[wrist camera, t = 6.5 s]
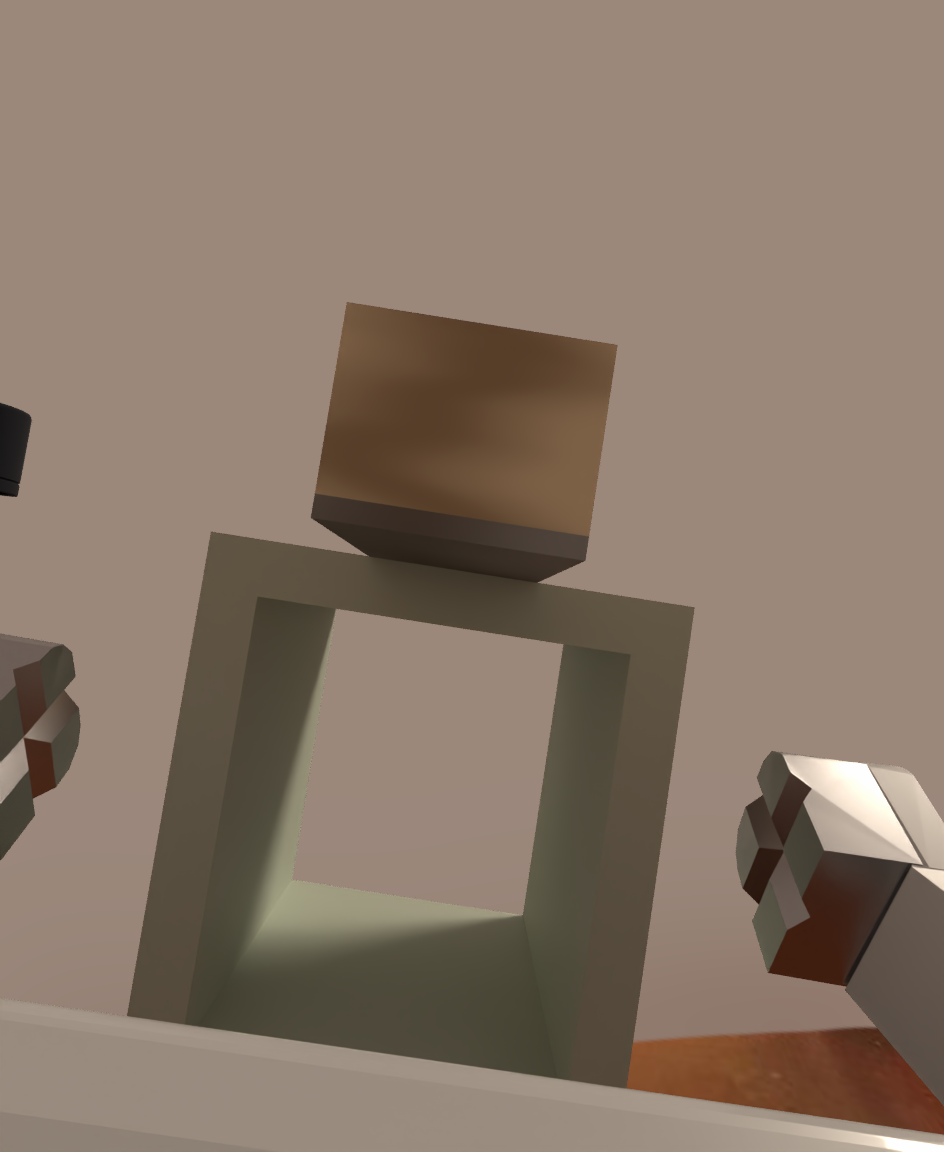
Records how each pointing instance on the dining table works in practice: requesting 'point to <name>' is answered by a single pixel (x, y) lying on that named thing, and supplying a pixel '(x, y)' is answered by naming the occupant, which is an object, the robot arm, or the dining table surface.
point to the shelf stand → (393, 923)
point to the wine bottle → (12, 447)
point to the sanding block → (463, 443)
